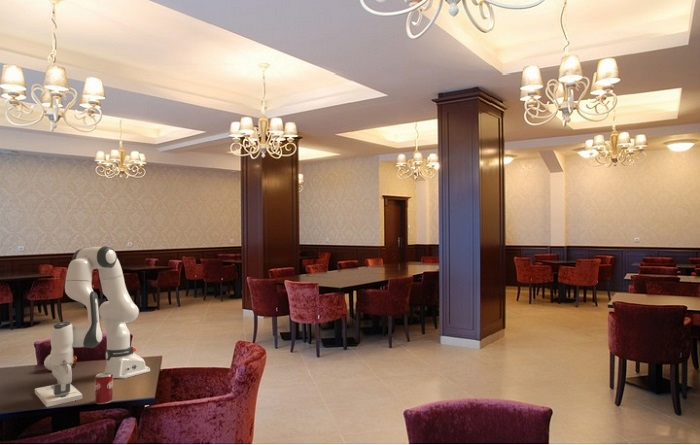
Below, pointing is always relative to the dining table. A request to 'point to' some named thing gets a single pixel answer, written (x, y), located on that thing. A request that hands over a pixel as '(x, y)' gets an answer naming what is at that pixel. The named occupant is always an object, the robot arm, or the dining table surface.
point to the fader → (58, 392)
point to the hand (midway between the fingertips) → (61, 389)
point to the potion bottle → (47, 361)
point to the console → (50, 399)
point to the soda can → (103, 388)
